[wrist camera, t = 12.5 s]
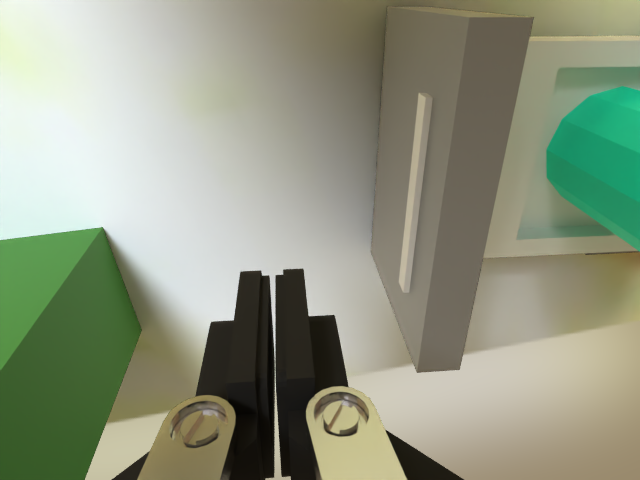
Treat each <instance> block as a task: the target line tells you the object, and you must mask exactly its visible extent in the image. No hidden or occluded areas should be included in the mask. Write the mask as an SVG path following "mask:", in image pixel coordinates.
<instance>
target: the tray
mask: <svg viewBox="0 0 640 480" xmlns="http://www.w3.org/2000/svg"><path fill="white" fill-rule="evenodd" d="M533 19H534V17H527V16H517V15H507V14H497V13H487V12H476V11H466V10H456V9H446V8H436V7H426V6H417V7H387V18H386V33H385V48H384V63H383V78H382V93H381V108H380V123H379V138H378V153H377V168H376V183H375V197H374V212H373V227H372V242H371V254H372V256H373V259H374V262H375V264H376V267H377V269H378V272H379V275H380V277H381V280H382V282H383V285H384V288H385V290H386V293H387V296H388V298H389V301H390V303H391V306H392V309H393V311H394V314H395V317H396V319H397V322H398V324H399V327H400V330H401V332H402V335H403V338H404V340H405V343H406V345H407V348H408V351H409V353H410V356H411V358H412V361H413V364H414V366H415V369H416V371H417V373H419V372H432V371H447V370H459V369H460V365H461V361H462V356H463V351H464V347H465V342H466V337H467V332H468V328H469V323H470V318H471V313H472V309H473V304H474V299H475V294H476V290H477V285H478V280H479V275H480V271H481V266H482V261H483V258H502V257H523V256H543V255H563V254H583V253H603V252H623V251H638V250H637V249H635V248H634V247H632V246H631V245H630V244H628V243H627V242H625V241H624V240H622V239H621V238H620V237H618V236H617V235H615V234H614V233H613V232H611V231H610V230H608V229H607V228H605V227H604V226H603V225H601V224H600V223H598V222H597V221H596V220H594V219H593V218H591V217H590V216H589V215H587V214H586V213H584V212H583V211H581V210H580V209H579V208H577V207H576V206H574V205H573V204H572V203H570V202H569V201H567V200H566V199H564V198H563V197H562V196H561V195H560V194H559V193H558V191H557V190H556V189H555V188H554V186H553V185H552V184H551V182H550V181H549V180H548V179H547V169H546V149H547V147H548V145H549V143H550V141H551V139H552V137H553V135H554V134H555V132H556V130H557V128H558V126H559V124H560V122H561V120H562V119H563V118H564V117H565V116H566V115H567V114H569V113H570V112H571V111H572V110H573V109H574V108H576V107H577V106H578V105H579V104H580V103H582V102H583V101H584V100H585V99H586V98H587V97H589V96H590V95H593V94H596V93H600V92H603V91H607V90H610V89H614V88H617V87H621V86H624V87H628V88H632V89H636V90H639V91H640V36H530V33H531V28H532V24H533Z"/></svg>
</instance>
